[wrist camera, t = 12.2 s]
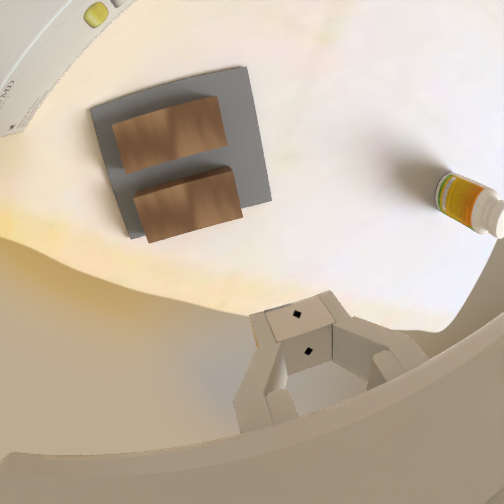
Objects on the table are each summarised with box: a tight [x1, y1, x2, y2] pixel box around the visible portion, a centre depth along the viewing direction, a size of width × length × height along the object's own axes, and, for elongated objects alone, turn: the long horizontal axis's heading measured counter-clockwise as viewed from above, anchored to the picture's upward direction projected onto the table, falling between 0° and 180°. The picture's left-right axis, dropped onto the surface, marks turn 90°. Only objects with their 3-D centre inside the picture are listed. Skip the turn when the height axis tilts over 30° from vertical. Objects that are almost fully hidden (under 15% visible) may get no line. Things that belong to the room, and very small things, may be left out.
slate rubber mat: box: [90, 67, 272, 239], centre depth 24 cm, size 12×13×1 cm
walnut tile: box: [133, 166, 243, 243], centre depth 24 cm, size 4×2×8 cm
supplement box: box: [0, 0, 137, 137], centre depth 11 cm, size 17×13×9 cm
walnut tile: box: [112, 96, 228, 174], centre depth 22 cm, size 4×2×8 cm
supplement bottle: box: [435, 173, 504, 239], centre depth 28 cm, size 5×5×10 cm
